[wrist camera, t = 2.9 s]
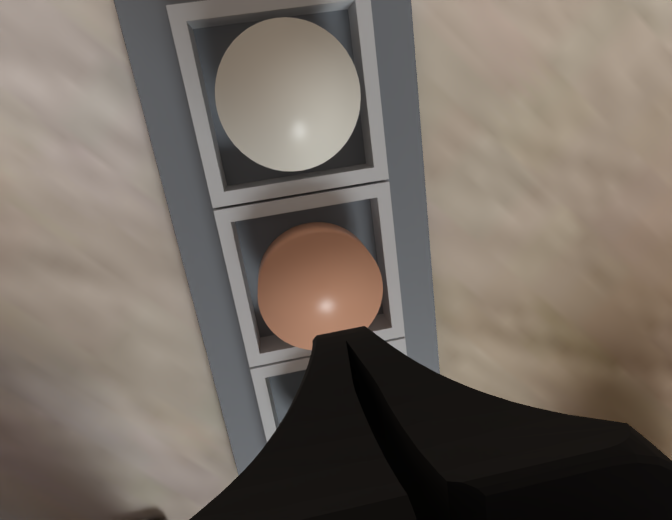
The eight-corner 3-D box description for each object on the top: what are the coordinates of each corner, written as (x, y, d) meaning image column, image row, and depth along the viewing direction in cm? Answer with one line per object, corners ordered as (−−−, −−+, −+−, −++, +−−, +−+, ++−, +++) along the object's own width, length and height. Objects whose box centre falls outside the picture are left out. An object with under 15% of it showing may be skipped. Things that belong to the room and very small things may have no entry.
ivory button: (235, 175, 16) (232, 181, 14) (206, 36, 14) (199, 27, 13) (358, 155, 16) (368, 160, 15) (342, 18, 15) (351, 8, 13)
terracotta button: (269, 340, 18) (270, 361, 16) (247, 233, 17) (245, 245, 15) (378, 319, 18) (388, 337, 17) (365, 212, 17) (375, 222, 15)
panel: (244, 479, 22) (241, 517, 20) (119, 0, 16) (97, -18, 14) (439, 435, 23) (456, 467, 21) (401, -34, 17) (420, -55, 15)
